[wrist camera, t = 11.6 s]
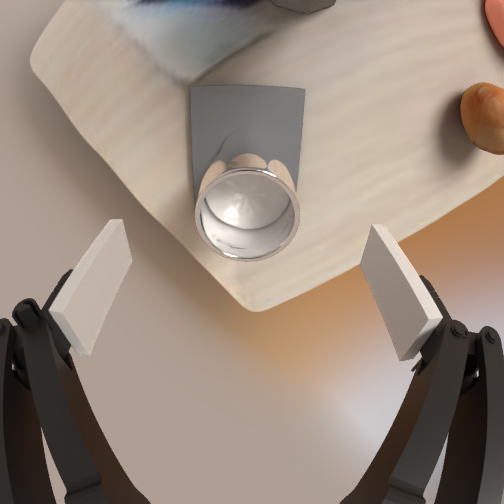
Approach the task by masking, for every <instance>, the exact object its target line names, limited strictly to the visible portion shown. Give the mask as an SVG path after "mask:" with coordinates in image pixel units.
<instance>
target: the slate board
mask: <svg viewBox="0 0 504 504" xmlns="http://www.w3.org/2000/svg"><path fill="white" fill-rule="evenodd" d="M190 95H191V139H192V163H193V181H194V197H195V206H196V202H197V199H198V194H199V189H200V185H201V182H202V179H203V177H204V174H205V172H206V170H207V169H208V167H209V165H210V164H211V162H212V161H213V160H214V159H215V158H216V157H217V156H218V155H219V154H220V149H221V146H222V144H223V143H224V141H225V140H226V139H227V138H228V137H229V136H230V135H232V134H233V133H235V132H238V131H241V130H254V131H257V132H260V133H262V134H263V135H265V136H266V137H267V138H268V139H269V140H270V142H271V143H272V145H273V147H274V151H275V154H276V155H277V156H278V157H279V158H280V159H281V160H282V161H283V163H284V164H285V166H286V167H287V169H288V171H289V173H290V175H291V177H292V180H293V183H294V186H295V191H296V190H297V180H298V170H299V160H300V149H301V138H302V125H303V112H304V98H305V89H301V88H290V87H277V86H257V85H212V86H192V87H190Z"/></svg>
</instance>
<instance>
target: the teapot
mask: <svg viewBox="0 0 504 504" xmlns="http://www.w3.org/2000/svg"><path fill="white" fill-rule="evenodd" d="M485 12H486V16H487V19H488V21H489V24H490V26H491V28H492V30H493V32H494V34H495V36H496V38H497V39H498V41H499V42H500V44H501V45H502V46H503V47H504V0H486V2H485Z"/></svg>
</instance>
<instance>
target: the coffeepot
mask: <svg viewBox="0 0 504 504" xmlns="http://www.w3.org/2000/svg"><path fill="white" fill-rule="evenodd" d="M271 1H272V2H273V4H274V5H276V6H280V7H283V8H286V9H289V10H293V11H298V12H302V13H305V14H309V13H312V12H314V11H318V10H321V9H323V8H326V7H329V6H333V5H334V4H335V2H336V0H271Z"/></svg>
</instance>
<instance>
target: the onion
mask: <svg viewBox="0 0 504 504" xmlns="http://www.w3.org/2000/svg"><path fill="white" fill-rule="evenodd" d="M460 110H461V119H462V123H463V126H464V128H465V131H466V133H467V134H468V136H469V138H470V139H471V141H472V143H473V144H474V145H475V146H477V147H478V148H480V149H481V150H484V151H487V152H490V153H493V154H497V155H503V154H504V89H502V88H500V87H497V86H495V85H493V84H489V83H477V84H474V85H472V86H471V87H469V88H468V89H467V90H466V91H465V92H464V94H463V96H462V100H461V107H460Z"/></svg>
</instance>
